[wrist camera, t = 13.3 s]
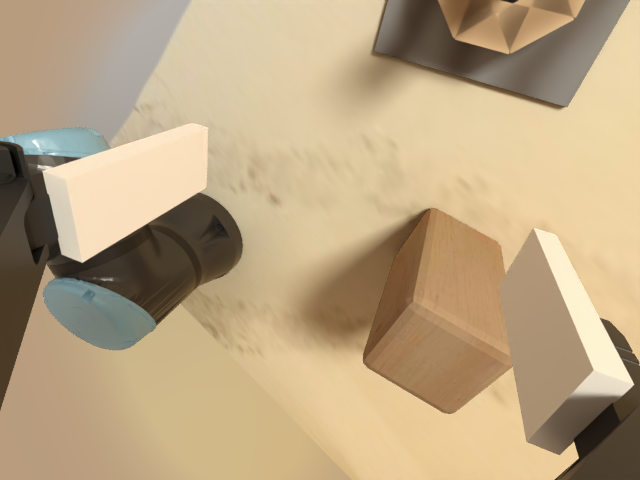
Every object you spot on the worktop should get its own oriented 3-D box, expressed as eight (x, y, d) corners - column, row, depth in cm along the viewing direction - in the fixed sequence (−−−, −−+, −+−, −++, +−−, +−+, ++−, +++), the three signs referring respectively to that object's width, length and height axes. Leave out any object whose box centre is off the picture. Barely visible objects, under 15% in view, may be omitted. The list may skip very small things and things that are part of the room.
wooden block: (392, 258, 51) (356, 366, 34) (431, 202, 45) (410, 298, 29) (455, 294, 50) (450, 422, 34) (503, 242, 44) (525, 364, 28)
